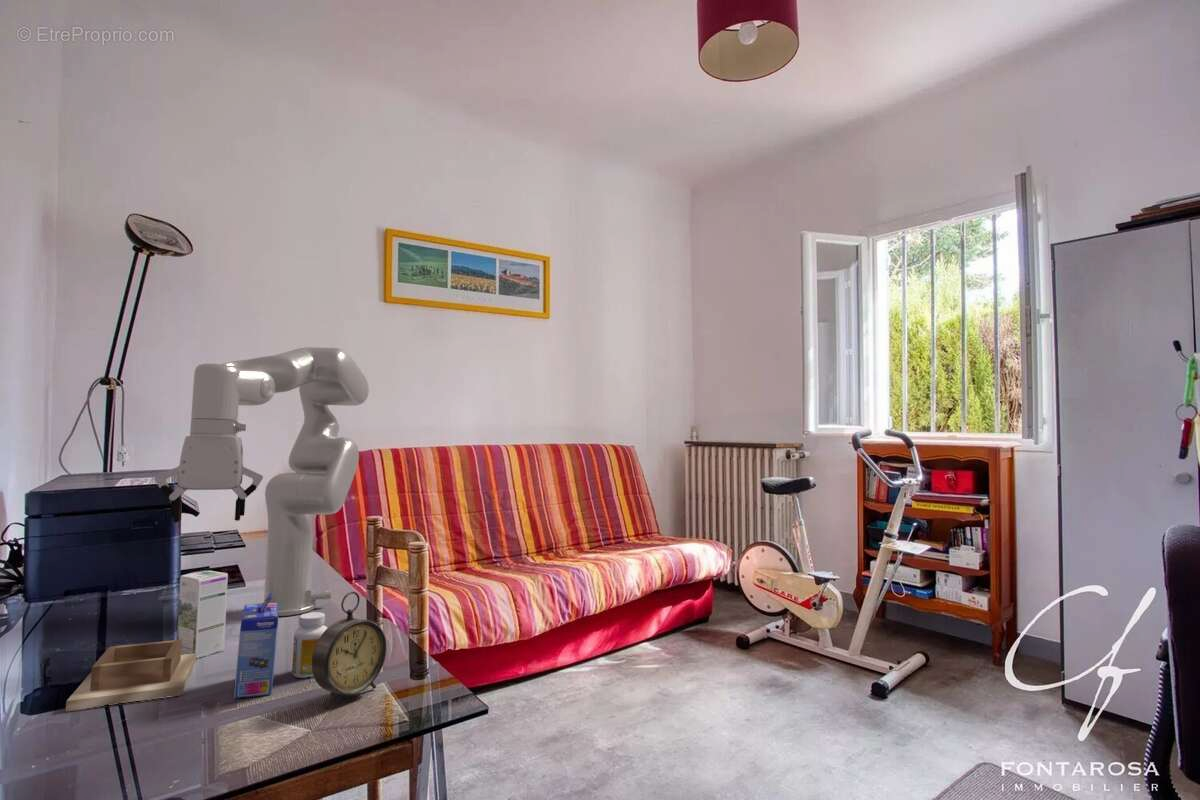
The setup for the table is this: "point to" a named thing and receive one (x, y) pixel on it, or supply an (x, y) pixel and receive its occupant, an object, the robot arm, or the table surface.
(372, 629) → the alarm clock
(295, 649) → the supplement bottle
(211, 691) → the table surface
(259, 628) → the ink cartridge box
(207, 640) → the syrup box
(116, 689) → the desk stand
